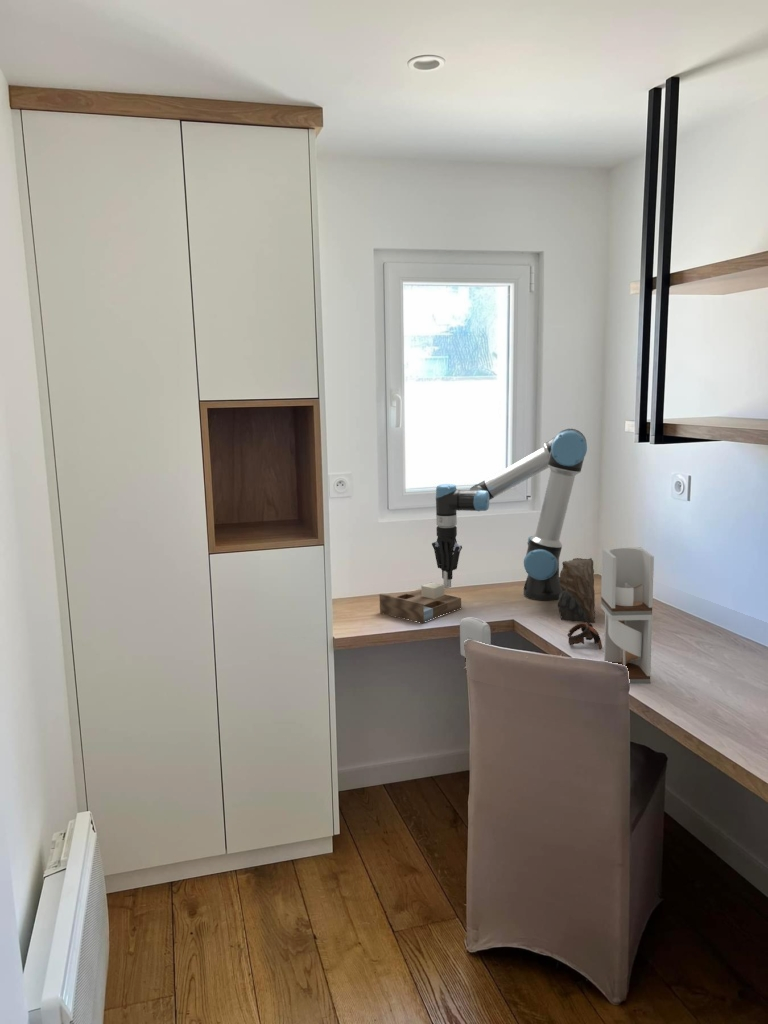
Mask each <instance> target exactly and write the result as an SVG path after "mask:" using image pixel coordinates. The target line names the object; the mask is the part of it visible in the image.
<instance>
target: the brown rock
mask: <svg viewBox="0 0 768 1024" xmlns="http://www.w3.org/2000/svg"><path fill="white" fill-rule="evenodd" d="M561 565H562V568H561V570H560V572H559V577H560V578H559V582H560V586H561V588H562V591H561V593H560V594H559V599H557V608H558V611H559V614H560V619H561V621H566V622H568V621H569V622H578V623H591V624H595V619H596V610H595V609H596V607H595V600H596V599H595V577H594V576H595V574H594V573H595V569H594V560H593V559H592V558H591V557H590V558H579V557H576V558H572V559H571V560H564V561H562V563H561Z"/></svg>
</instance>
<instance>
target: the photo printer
mask: <svg viewBox="0 0 768 1024" xmlns="http://www.w3.org/2000/svg"><path fill="white" fill-rule="evenodd" d="M491 635H492V634H491V626H490V624H488V623H487V622H486V621H484V620H483V619H481V618H477V617H471V616H468V617H465V618H462V619H461V620H460V623H459V642H460V643H459V645H460V646H459V647H460V648H459V649H460V655H461V656H462V657H465V650H464V641H465V640H467V639H471V640H477V641H479V642H482V643H485V644H489V645H491V643H492V642H491V637H492V636H491ZM491 646H492V645H491ZM465 658H466V657H465Z"/></svg>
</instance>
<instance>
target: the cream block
mask: <svg viewBox="0 0 768 1024" xmlns="http://www.w3.org/2000/svg"><path fill="white" fill-rule="evenodd" d="M420 586H421V587H420V589H421V595H422V596H423V597H427V598H432V599H436V598H438V597H441V596H444V594H445V588H444V584H441V583H437V582H429V583H425V584H423V585H420Z"/></svg>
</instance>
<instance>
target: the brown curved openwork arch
mask: <svg viewBox="0 0 768 1024" xmlns="http://www.w3.org/2000/svg"><path fill="white" fill-rule="evenodd" d="M578 630H580V631H581V632H580V633H579V634H576V635H573V634H574V633H576V632H577V631H578ZM566 636H567V638H568V644H569V646H572V645H577V644H583V645H584V644H585V640H586V641H587V640H589V641H591V640H593V642H594V644H595V645H598V648H599V650H602V648H603V645H602V644H603V643H602V640H601V636H600V634H599V632H598V631H597V630H596V628H594V626H593V623H584V622H579V623H578V624H577V623H576V624H575V625H574V626H573V627H571V628H570V629H569V630H568V634H567V635H566Z"/></svg>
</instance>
